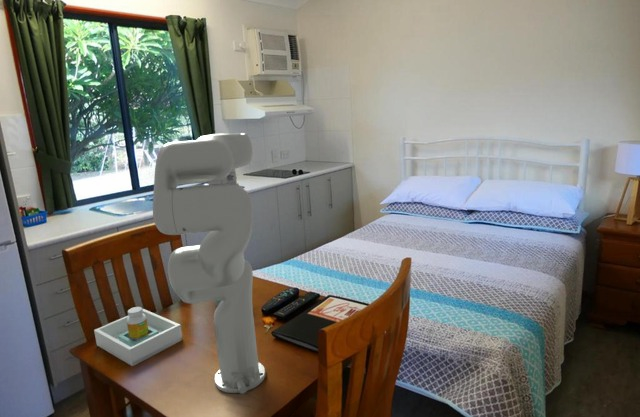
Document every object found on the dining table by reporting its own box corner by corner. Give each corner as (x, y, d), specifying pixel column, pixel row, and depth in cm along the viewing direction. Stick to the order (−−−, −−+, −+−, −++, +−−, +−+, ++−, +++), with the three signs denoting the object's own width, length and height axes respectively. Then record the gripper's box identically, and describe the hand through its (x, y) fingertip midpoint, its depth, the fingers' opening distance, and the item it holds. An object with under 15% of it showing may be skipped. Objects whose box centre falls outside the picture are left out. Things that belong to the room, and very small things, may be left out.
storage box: (182, 339, 130) (180, 324, 129) (132, 366, 118) (129, 349, 117) (145, 322, 143) (143, 308, 141) (96, 345, 130) (93, 330, 129)
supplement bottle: (142, 345, 127) (137, 314, 125) (126, 344, 128) (120, 313, 126) (153, 335, 132) (148, 305, 130) (137, 334, 133) (132, 305, 131)
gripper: (254, 178, 118) (259, 238, 122) (213, 175, 129) (219, 230, 133) (233, 183, 113) (239, 246, 117) (192, 179, 123) (199, 237, 127)
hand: (229, 237), depth 125 cm, fingers open, 9 cm apart
